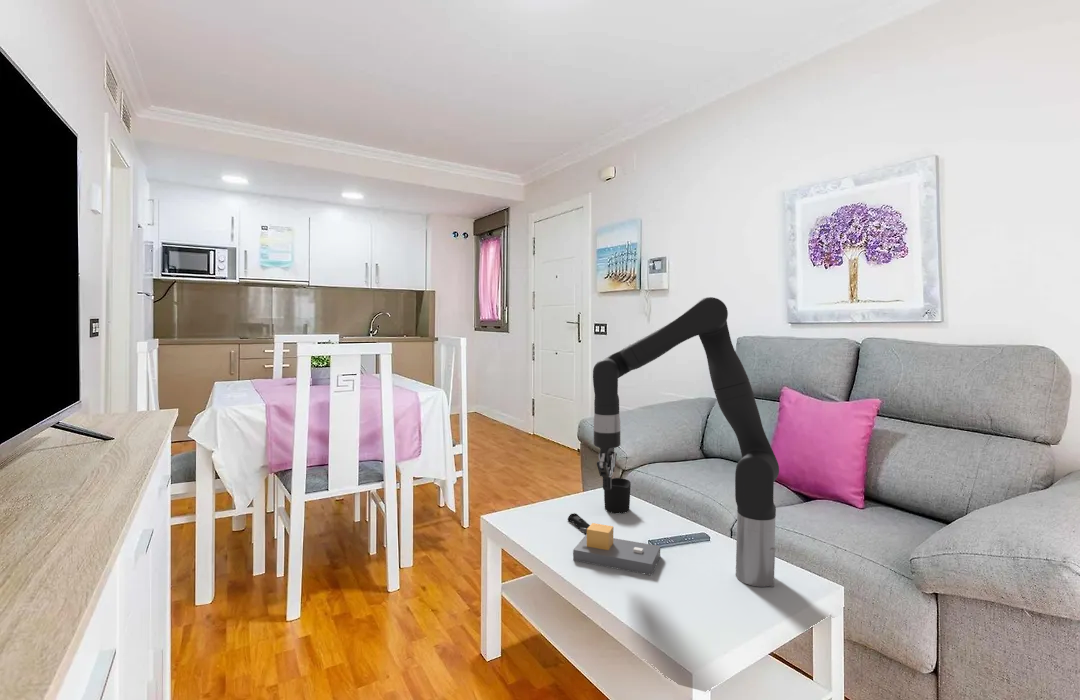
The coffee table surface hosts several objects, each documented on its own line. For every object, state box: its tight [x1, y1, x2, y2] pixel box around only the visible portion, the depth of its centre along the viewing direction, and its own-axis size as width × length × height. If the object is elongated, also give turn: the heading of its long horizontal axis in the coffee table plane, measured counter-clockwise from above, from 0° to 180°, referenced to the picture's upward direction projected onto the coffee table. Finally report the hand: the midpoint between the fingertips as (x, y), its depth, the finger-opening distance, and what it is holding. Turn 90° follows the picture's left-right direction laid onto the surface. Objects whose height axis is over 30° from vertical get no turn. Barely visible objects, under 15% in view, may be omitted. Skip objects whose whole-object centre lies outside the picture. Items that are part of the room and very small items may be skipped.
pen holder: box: [603, 477, 632, 514], centre depth 186 cm, size 9×9×10 cm
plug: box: [579, 522, 614, 550], centre depth 151 cm, size 9×5×8 cm, turn 66°
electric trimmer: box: [567, 512, 591, 531], centre depth 170 cm, size 4×16×3 cm, turn 23°
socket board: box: [572, 533, 661, 576], centre depth 148 cm, size 22×12×4 cm, turn 67°
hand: (607, 489), depth 149 cm, fingers closed
